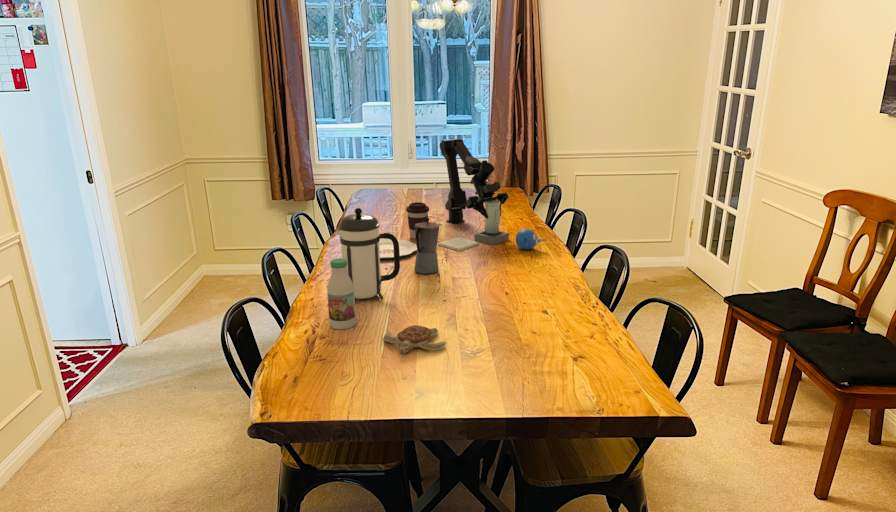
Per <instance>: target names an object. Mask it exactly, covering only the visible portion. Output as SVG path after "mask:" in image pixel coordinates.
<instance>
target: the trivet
mask: <svg viewBox="0 0 896 512" xmlns="http://www.w3.org/2000/svg"><path fill="white" fill-rule="evenodd" d="M479 242H480V241H476V240H471V239H469V238H468V239H467V238H463V237H459V236H455V237H453V238H450V239H447V240H443V241H441V242H437V246H440V247H443V248H446V249H451V250H455V251H458V252H461V251H464V250H467V249H469V248H473V247H475V246H478V245H479Z"/></svg>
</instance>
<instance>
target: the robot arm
mask: <svg viewBox="0 0 896 512" xmlns="http://www.w3.org/2000/svg"><path fill="white" fill-rule="evenodd" d="M439 149H440V153H441V155H442V156H443V158H444V159H445V162H446V169H447V176H448V182H449V192H448V195H447V198H448V199H447V201H446V202H445V204H444V207H445V210H446V211H448V219H447V220H446V222H447V223H451V224H456V225H457V224H460V223H463V222H465V220H464V213H463V210H466V209H468V210H469V209H473V210H475V211H476V212H478V213H479V214H481V215H482V216H483V217H484V219H485V218H486V219H487V218H488V215H487V212H486V210H485V201H487V200H497V201H500V208H499V210H500V217H501V216H502V205H503V204H505V203H506V202H507V201H508V199H509V194H508V193H507V192H498V191H499V190H500V189H501V184H500V182H499V181H495V182H493V183H489V184H488V182H487V181H488V180H489V179H490V177H491V176H492V174H493V173H494V171H495V167H494V165H493V164H491V163H490V162H488V161H487V160H482V161H480V159H478V158H476V157H474V156H473V154H472V152H471V151H470V149H468V147H467V146H466V144H465V141H464V140H463V138H453V139H443V140H441V142H439ZM457 156H458V157H459V158H460V160H461V161H462V163H463V169H464V172H465V174H466V175H467V176H472V177H471V180H470V184H471V185H473V186H474V189H475V192H474V193H475V195H473V196H469V197H468V198H467V195H466V191H465V190H463V189H462V187H461V181H460V176H459V168H458V167H459V166H458V162H457ZM495 192H498V194H497V195H496V196H495V194H496V193H495Z"/></svg>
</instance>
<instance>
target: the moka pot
mask: <svg viewBox="0 0 896 512" xmlns="http://www.w3.org/2000/svg"><path fill="white" fill-rule="evenodd" d="M425 220H426V222H422V223H417V224H415V235H416V239H415V241H416V242H415V244H416V245H417V250H416V254H415V255H416V256H415V262H414V272H416V273H418V274H421V275H422V274H424V275H427V274H428V275H429V274H430V275H431V274H435V273H437V272H439V261H438V252H437V249H438V243H439V241H438V240H439V233H440V224H439V223H436V222H434V221H430V218H429V217H428V218H425Z"/></svg>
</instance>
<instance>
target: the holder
mask: <svg viewBox="0 0 896 512" xmlns="http://www.w3.org/2000/svg"><path fill="white" fill-rule="evenodd" d="M508 240H510V233H509V232H506V231H503V230H499V232H498V233H486V232H485V229H484V230H481V231H478V232H476V233H474V241H476V242H480V243H484V244H489V245H493V246H494V245H498V244H501V243H503V242H505V241H508Z"/></svg>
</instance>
